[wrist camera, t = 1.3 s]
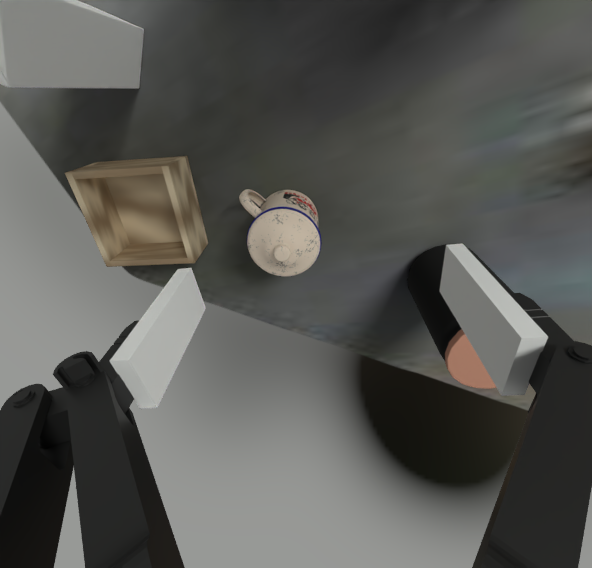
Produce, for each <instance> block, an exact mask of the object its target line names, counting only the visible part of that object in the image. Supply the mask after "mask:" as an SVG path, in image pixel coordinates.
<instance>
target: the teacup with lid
mask: <svg viewBox="0 0 592 568" xmlns="http://www.w3.org/2000/svg"><path fill="white" fill-rule="evenodd" d="M239 199H240V202H241V204H242V205H243V207H244V208H245V209H246V210H247V211H248V212H249V213H250V214H251V215H252V216H253V217H255V219H254V220H253V222H252V223H251V225H250V227H249V229H248V233H247V247H248V250H249V253H250V255H251V257H252V259H253V260H254V262H255V263H256V264H257V265H258V266H259V267H260V268H262V269H263V270H265V271H266V272H268V273H271V274H273V275H277V276H293V275H297V274H300V273H302V272H304V271H305V270H307V269H308V268H309V267H311V266H312V265H313V263H314V262H315V261H316V259H317V258H318V256H319V253H320V250H321V235H320V232H319V223H318V213H317V210H316V207H315V205H314V204H313V202H312V201H311V200H310V199H309V198H308V197H307V196H306V195H304V194H302V193H300V192H298V191H294V190H281V191H278V192H275V193H273V194H271V195H270V196H269V197H268V198H266V200H265V199H264V198H263V197H262V196H261V195H259V194H258V193H257V192H255V191H253V190H249V189H246V190H244V191H243V192H242V193H241V194H240V196H239ZM251 200H252V201H253V202H255V203H256V204H257V205H258V206H259V207H260V209H259V208H258V207H257V206H256V205H255V204H254V203H253V202H252V201H251Z"/></svg>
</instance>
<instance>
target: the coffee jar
mask: <svg viewBox="0 0 592 568" xmlns="http://www.w3.org/2000/svg"><path fill="white" fill-rule="evenodd" d="M446 245H450V244H446ZM446 245H441V246H437V247H434V248H432V249H430V250H428V251H426V252H424V253H423V254H422V255H421V256H420V257H418V258H417V259H416V260H415V262H414V263H413V265H412V267H411V268H410V271H409V275H408V279H407V280H408V288H409V290H410V292H411V294H412V297H413V299H414V301H415V303H416V305H417V307H418V309H419V311H420V313H421V315H422V317H423V319H424V321H425V323H426V326H427V328H428V330H429V332H430V334H431V336H432V338H433V340H434V342H435V344H436V346H437V348H438V350H439V352H440V354H441V356H442V357H443V359H444V360H445V362H446V366H447V369H448V370H449V372H450V374H451V375H452V377H453V378H454V379H456V380H457V381H459V382H460V383H462V384H464V385H467V386H471V387H474V388H489V389H490V388H497V387H496V385H495V384H494V382H493V380H492V379H491V377H490V375H489V374H488V372H487V370H486V369H485V367H484V365H483V364H482V362H481V360H480V358H479V357H478V355H477V353H476V352H475V350H474V348H473V347H472V345H471V343H470V342H469V340H468V338H467V337H466V335H465V333H464V332H463V330H462V328H461V327H460V325H459V323H458V322H457V320H456V318H455V317H454V315H453V313H452V312H451V310H450V308H449V306H448V305H447V303H446V301H445V300H444V298H443V296H442V295H441V293H440V284H441V277H442V270H443V263H444V256H445V249H446ZM467 249H468V250H469V251H470V252H471V253H472V254H473V255H474V257H475V258H476V259H477V260H478V261H479V262H480V263H481V264H482V265H483V266H484V267H485V268H486V270H487V271H488V272H489V273H490V274H491V275H492V276H493V277H494V278H495V279H496V280H497V282H498V283H499V284H500V285H501V286H502V287H503V288H504V289H505V290H506V291H507V292H508V294H510V293H514V292H513V291H512V290H511V289H510V288H509V287H508V286H507V285H506V284H505V283H504V282H503V281H502V280H501V279H500V278H499V277H498V276H497V275H496V274H495V273H494V272H493V271H492V270H491V269H490V268H489V267H488V266H487V265H486V264H485V263H484V262H483V261H482V260H481V259H480V258H479V257H478V256H477V255H476V254H475V253H474V252H472V251H471V250H470V249H469V248H467Z"/></svg>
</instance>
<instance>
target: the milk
mask: <svg viewBox="0 0 592 568" xmlns="http://www.w3.org/2000/svg"><path fill="white" fill-rule="evenodd" d="M143 37H144V29H143V28H140V27H138V26H136V25H134V24H131V23H129V22H127V21H124V20H122V19H120V18H118V17H115V16H113V15H111V14H109V13H106V12H104V11H102V10H99V9H97V8H95V7H93V6H90V5H88V4H85V3H83V2H80V1H77V0H0V84H1V85H4V86H6V87H10V88H118V89H139V86H140V74H141V61H142V49H143Z"/></svg>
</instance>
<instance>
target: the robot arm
mask: <svg viewBox="0 0 592 568" xmlns="http://www.w3.org/2000/svg"><path fill="white" fill-rule="evenodd" d="M440 293H441V295H442V296H443V298H444V300H445V301H446V303H447V305H448V306H449V308H450V310H451V312H452V313H453V315H454V317H455V318H456V320H457V322H458V323H459V325H460V327H461V328H462V330H463V332H464V333H465V335H466V337H467V338H468V340H469V342H470V343H471V345H472V347H473V348H474V350H475V352H476V353H477V355H478V357H479V358H480V360H481V362H482V364H483V365H484V367H485V369H486V370H487V372H488V374H489V375H490V377H491V379H492V380H493V382H494V384H495V385H496V387H497V389H498V390H499V392H500V394H501V395H502V396H503V395H525V392H526V390H527V388H528V385H529V383H530V385H531V386H532V388H533V389H534V390H535V392H536V395H535V397H534V399H533V402H532V404H531V406H530V408H529V411H528V416H527V419H526V422H525V424H524V427H523V430H522V432H521V435H520V438H519V441H518V443H517V446H516V449H515V452H514V455H513V457H512V460H511V463H510V465H509V468H508V471H507V474H506V477H505V479H504V482H503V485H502V487H501V490H500V493H499V496H498V498H497V501H496V504H495V507H494V510H493V512H492V515H491V518H490V521H489V523H488V526H487V529H486V531H485V534H484V537H483V540H482V542H481V545H480V548H479V551H478V553H477V556H476V559H475V562H474V564H473V567H472V568H578V564H579V559H580V552H581V547H582V540H583V535H584V529H585V522H586V517H587V511H588V505H589V499H590V492H591V487H592V346H591V345H588V344H586V343H581V342H576V341H573V340H572V339H571V338H570V337H569V336H568V335H567V334H566V333H565V332H564V331H563V330H562V329H561V328H560V327H559V326H558V325H557V324H556V323H555V322H554V321H553V320H552V319H551V318H550V317H548V315H547V314H546V313H545V312H544V311H543V310H541V308H540V307H539V306H538V305H537V304H536V303H535V302H534V301H533V300H532V299H530V298H528V297H526V296H525V295H523V294H521V293H510V294H508V292H507V291H506V290H505V289H504V288H503V287H502V286H501V285H500V284H499V283H498V282H497V280H496V279H495V278H494V277H493V276H492V275H491V274H490V273H489V272H488V271H487V270H486V268H485V267H484V266H483V265H482V264H481V263H480V262H479V261H478V260H477V259H476V258H475V257H474V255H473V254H472V253H471V252H470V251H469V250H468V249H467V248H466V247H465V246H464V245H463V243H462V244H451V245H446V249H445V256H444V263H443V270H442V277H441V284H440ZM205 309H206V307H205V305H204V302H203V299H202V296H201V293H200V291H199V288H198V285H197V282H196V279H195V277H194V274H193V271H192V268H184V269H178V270H177V271H176V272H175V274H174V275H173V276H172V278H171V279H170V280H169V282H168V283H167V284H166V286H165V287H164V288H163V290H162V291H161V292H160V294H159V295H158V296H157V298H156V299H155V300H154V302H153V303H152V304H151V306H150V307H149V309H148V310H147V311H146V313H145V314H144V315H143V317H142V318H141V319H140V321H134V322H133V323H132V324H130V325H129V326H128V327H126V329H125V330H124V331H123V332H122V333H121V335H120V336H119V338H118V339H117V340H116V341H115V343H114V345H112V346H111V347H110V349H109V350H108V351H107V353H106V354H105V355H104V357H103V358H102V359H101V360H100V362H98V361H97V359H96V358H95V356H94V355H93V353H92V352H87V351H86V352H80V353H77V354H74V355H72V356H70V357H68V358H66V359H65V360H64V361H62V362H61V363H60V364H59V365H58V366H57V367H56V369H55V370H54V373H53V375H54V376H55V378H56V379H57V380H58V381H59V382H60V384H61V385H62V386H63V388H59V389H56V390H52V391H48V390H47V389H46V388H45V387H44V386H43V385H42V384H34V385H30V386H27V387H25V388H23V389H20V390H19V391H18V392H16V393H14V394H13V395H12V396H11V397H10V398H9V399H8V400H7V401H6V402H5V403H4V405H3V406H2V408H1V410H0V568H54V563H55V557H56V553H57V548H58V543H59V537H60V532H61V527H62V522H63V517H64V512H65V507H66V502H67V497H68V492H69V487H70V481H71V476H72V471H73V466H74V470H75V479H76V489H77V498H78V507H79V516H80V525H81V533H82V542H83V551H84V560H85V568H184V565H183V562H182V559H181V556H180V553H179V550H178V547H177V544H176V541H175V538H174V535H173V532H172V529H171V526H170V523H169V520H168V517H167V514H166V511H165V508H164V505H163V502H162V499H161V496H160V493H159V490H158V488H157V485H156V481H155V479H154V476H153V472H152V469H151V467H150V464H149V461H148V458H147V455H146V452H145V449H144V446H143V443H142V440H141V437H140V434H139V431H138V428H137V425H136V422H135V419H134V416H133V413H132V411H131V410H130V408H129V407H130V405H131V403H132V401H133V400H135V402H136V403H137V405H138V406H139V408H157V407H158V405H159V403H160V401H161V399H162V397H163V395H164V393H165V391H166V389H167V387H168V385H169V383H170V381H171V379H172V377H173V375H174V373H175V370H176V369H177V366H178V364H179V362H180V360H181V358H182V356H183V354H184V352H185V350H186V348H187V346H188V344H189V342H190V340H191V338H192V336H193V334H194V332H195V330H196V327H197V325H198V323H199V321H200V319H201V317H202V315H203V313H204V311H205Z"/></svg>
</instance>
